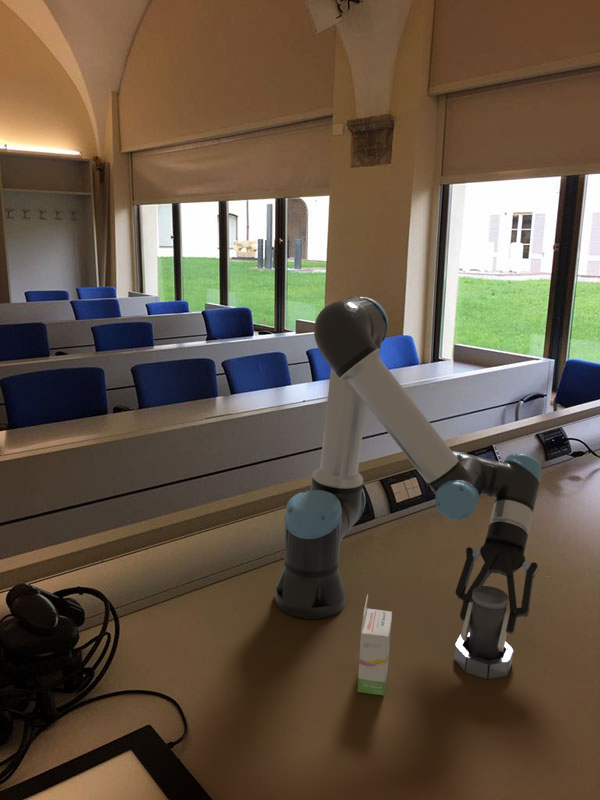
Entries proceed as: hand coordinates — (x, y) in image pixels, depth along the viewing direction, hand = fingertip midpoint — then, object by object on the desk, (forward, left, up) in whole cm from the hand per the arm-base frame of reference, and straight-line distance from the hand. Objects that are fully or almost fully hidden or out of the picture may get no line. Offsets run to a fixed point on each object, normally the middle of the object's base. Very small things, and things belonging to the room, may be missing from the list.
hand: (481, 643), depth 123 cm
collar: (0, +4, -6) cm, 7 cm away
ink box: (-16, -12, -6) cm, 21 cm away
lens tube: (0, +4, -4) cm, 5 cm away
